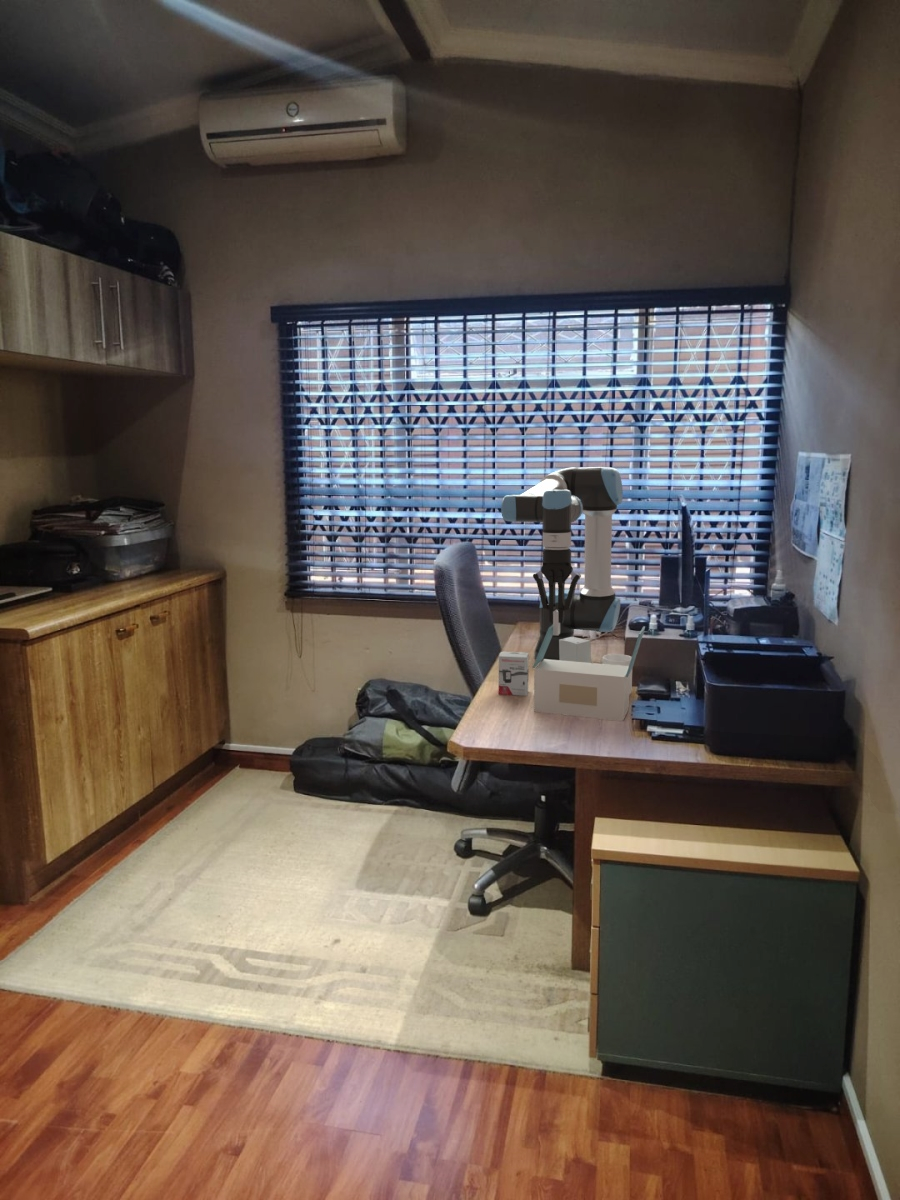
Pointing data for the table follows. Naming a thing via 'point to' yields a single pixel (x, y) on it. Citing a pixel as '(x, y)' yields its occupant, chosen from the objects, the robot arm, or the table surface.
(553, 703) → the carton
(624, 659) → the mug
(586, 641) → the skincare box
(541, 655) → the flap
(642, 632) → the flap
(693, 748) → the table surface
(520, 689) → the ink box
